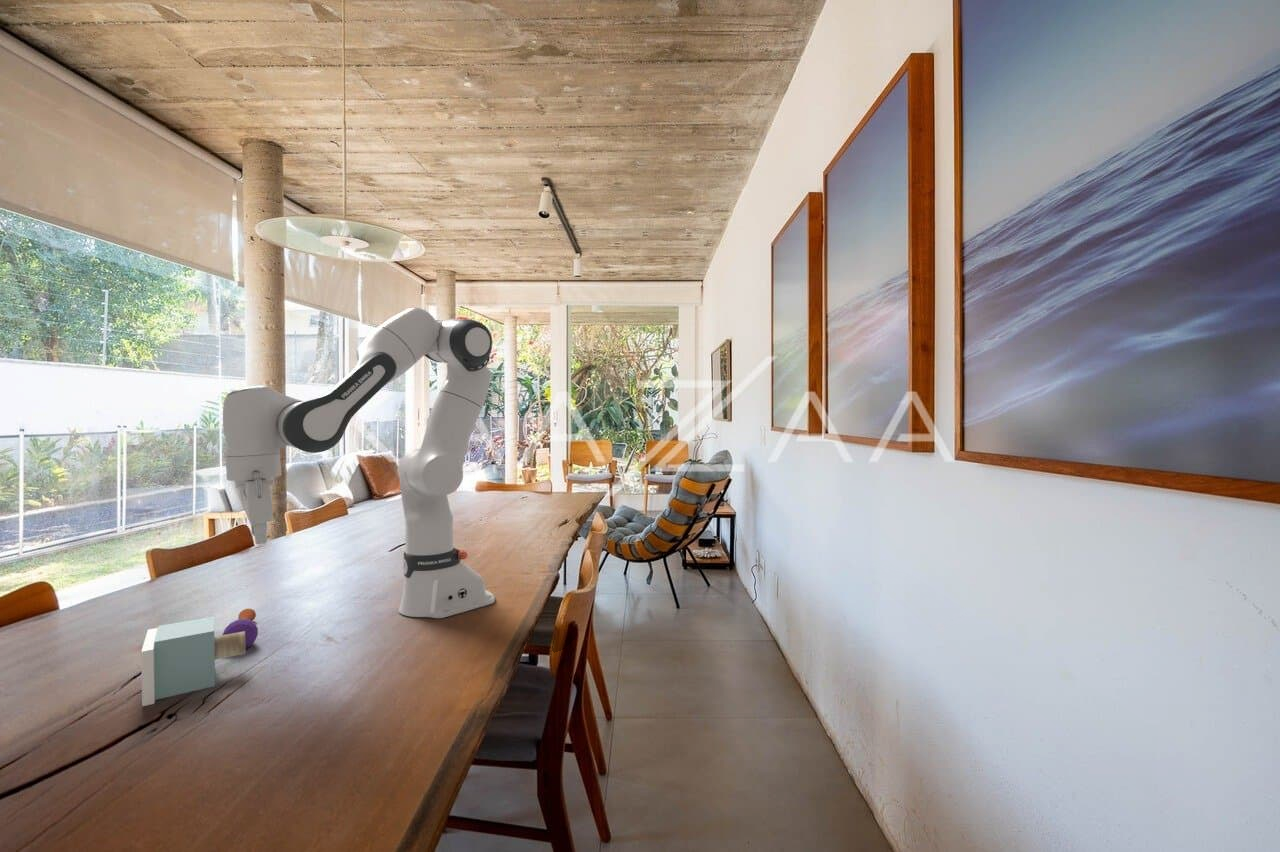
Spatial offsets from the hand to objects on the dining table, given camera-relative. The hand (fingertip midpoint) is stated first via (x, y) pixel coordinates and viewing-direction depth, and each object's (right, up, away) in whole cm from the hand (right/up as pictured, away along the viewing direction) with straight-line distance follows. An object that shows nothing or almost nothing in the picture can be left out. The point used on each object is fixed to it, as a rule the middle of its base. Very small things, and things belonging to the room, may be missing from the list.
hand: (259, 539), depth 111 cm
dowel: (-3, -20, -9) cm, 22 cm away
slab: (-9, -23, -14) cm, 29 cm away
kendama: (-10, -23, +10) cm, 28 cm away
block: (-6, -23, -11) cm, 26 cm away
